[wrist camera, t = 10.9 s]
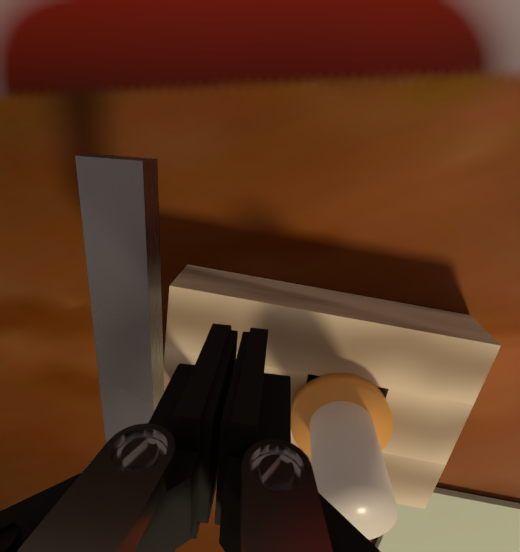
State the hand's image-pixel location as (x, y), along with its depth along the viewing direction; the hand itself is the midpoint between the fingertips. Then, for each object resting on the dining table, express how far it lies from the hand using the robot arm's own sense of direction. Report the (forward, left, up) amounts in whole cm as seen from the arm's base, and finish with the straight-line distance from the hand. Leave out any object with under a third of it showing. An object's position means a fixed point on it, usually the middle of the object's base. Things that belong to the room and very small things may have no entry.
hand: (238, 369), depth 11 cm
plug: (-10, -7, -15) cm, 19 cm away
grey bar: (-3, +4, -10) cm, 11 cm away
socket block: (-10, -5, -15) cm, 18 cm away
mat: (-25, -21, -15) cm, 35 cm away
